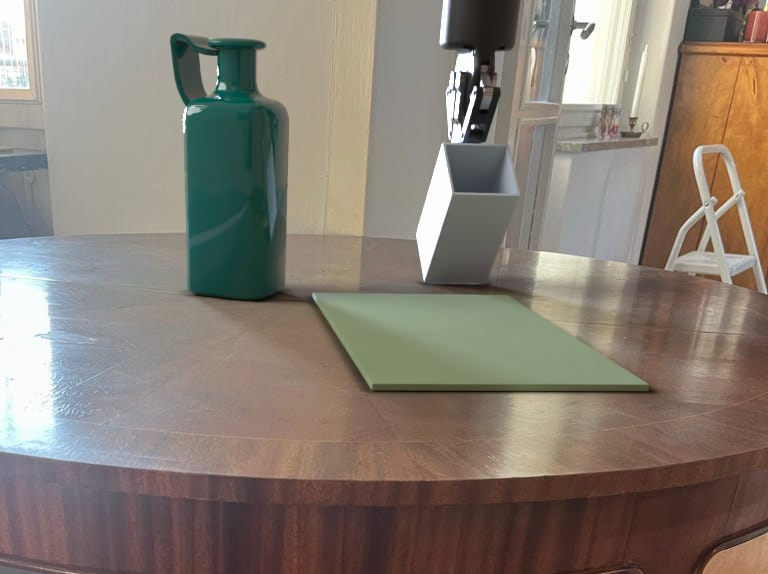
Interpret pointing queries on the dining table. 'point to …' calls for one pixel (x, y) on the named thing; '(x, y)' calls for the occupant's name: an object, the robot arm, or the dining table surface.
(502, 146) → the bin
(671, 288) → the dining table surface
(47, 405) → the dining table surface
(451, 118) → the robot arm
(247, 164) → the pitcher
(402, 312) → the mat
